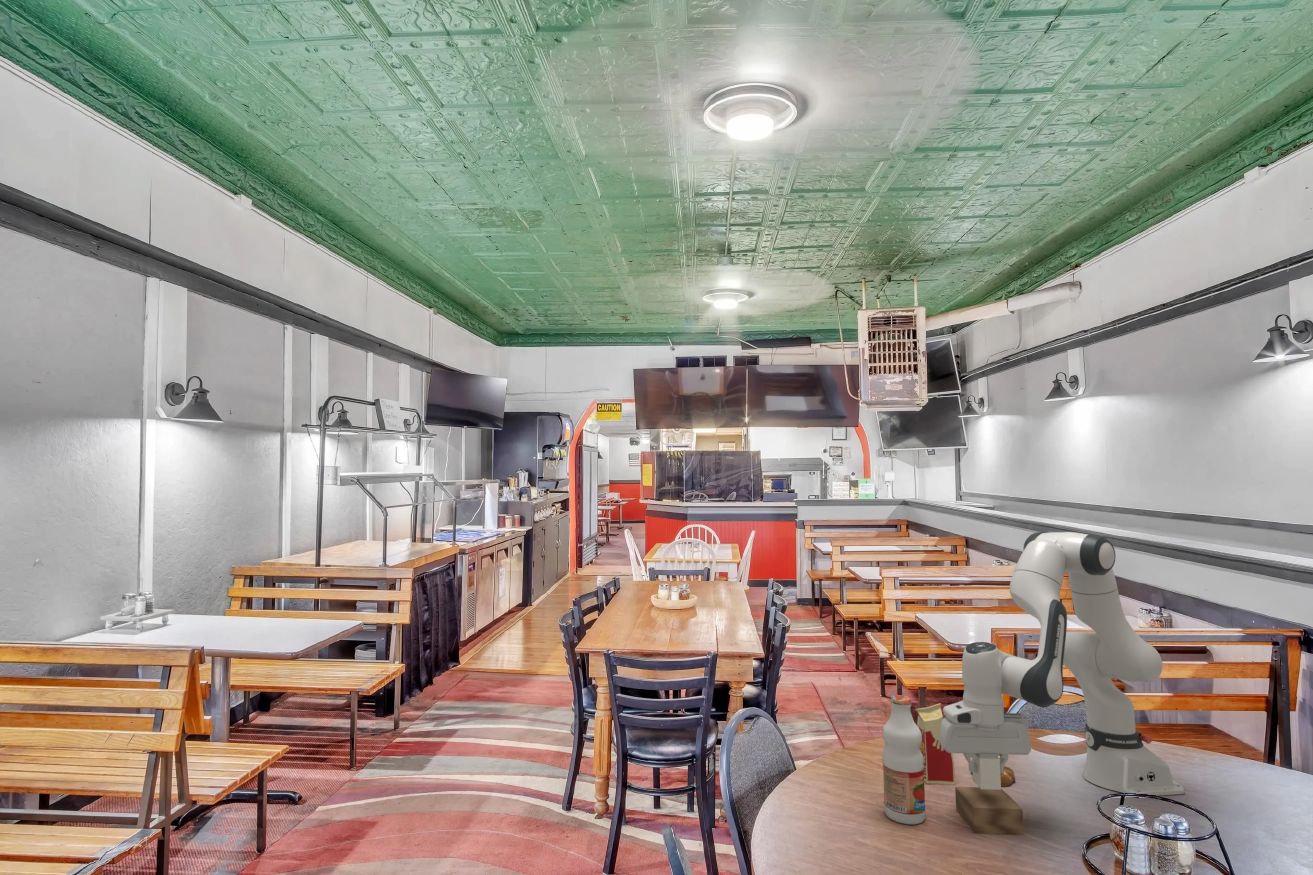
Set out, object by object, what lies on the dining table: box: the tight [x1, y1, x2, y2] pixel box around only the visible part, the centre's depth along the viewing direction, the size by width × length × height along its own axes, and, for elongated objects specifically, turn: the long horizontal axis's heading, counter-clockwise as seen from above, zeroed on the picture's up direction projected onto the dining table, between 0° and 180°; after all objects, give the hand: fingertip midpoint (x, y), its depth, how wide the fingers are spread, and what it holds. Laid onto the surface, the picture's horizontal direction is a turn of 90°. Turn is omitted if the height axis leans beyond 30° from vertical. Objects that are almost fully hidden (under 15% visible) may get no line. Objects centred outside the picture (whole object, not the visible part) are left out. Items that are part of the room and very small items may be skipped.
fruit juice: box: [882, 694, 926, 825], centre depth 160 cm, size 9×9×28 cm
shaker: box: [971, 753, 1002, 790], centre depth 157 cm, size 5×5×8 cm
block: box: [954, 786, 1025, 836], centre depth 156 cm, size 11×11×6 cm
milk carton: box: [915, 702, 956, 786], centre depth 182 cm, size 9×9×20 cm
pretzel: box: [970, 764, 1016, 787], centre depth 181 cm, size 12×11×4 cm
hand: (986, 771), depth 157 cm, fingers closed on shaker, 5 cm apart
